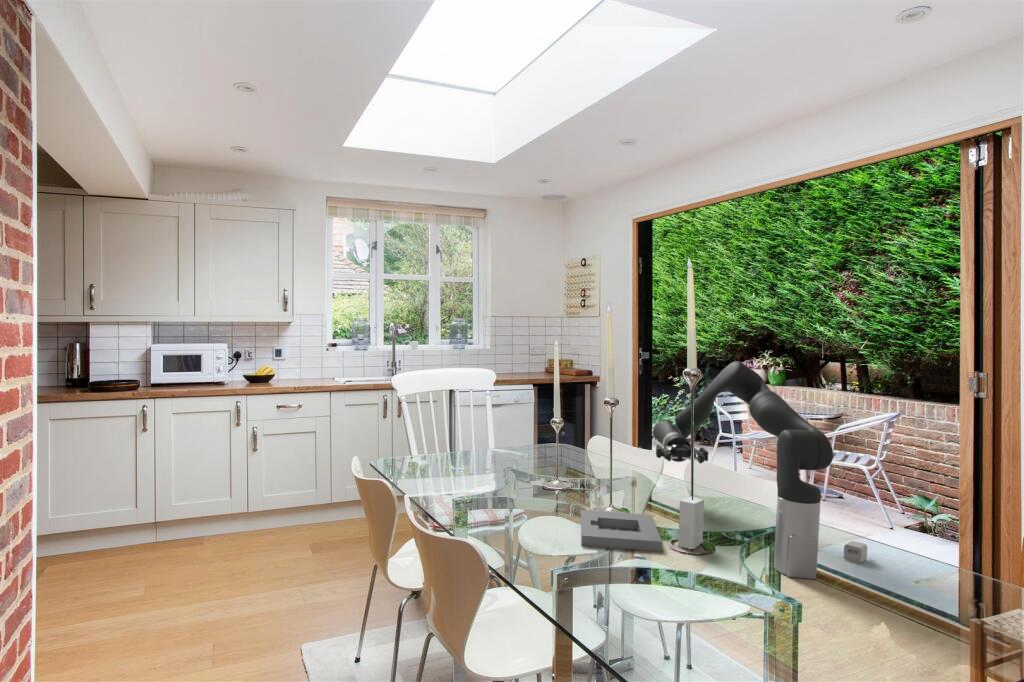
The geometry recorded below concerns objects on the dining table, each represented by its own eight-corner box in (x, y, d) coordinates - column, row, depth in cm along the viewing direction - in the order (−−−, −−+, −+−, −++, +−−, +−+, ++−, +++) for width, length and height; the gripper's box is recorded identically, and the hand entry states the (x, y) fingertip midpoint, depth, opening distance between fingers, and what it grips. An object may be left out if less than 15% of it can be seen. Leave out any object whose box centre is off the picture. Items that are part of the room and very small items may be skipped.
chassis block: (661, 551, 154) (662, 541, 154) (581, 545, 156) (581, 535, 156) (651, 523, 176) (651, 514, 176) (580, 518, 178) (581, 509, 178)
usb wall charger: (843, 559, 154) (844, 543, 154) (852, 553, 159) (853, 537, 159) (861, 564, 151) (861, 548, 151) (869, 557, 156) (870, 542, 156)
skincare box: (687, 540, 163) (689, 495, 163) (702, 544, 160) (704, 499, 160) (677, 546, 158) (679, 500, 158) (693, 550, 156) (695, 503, 155)
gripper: (653, 432, 186) (659, 443, 170) (701, 435, 185) (712, 446, 169) (651, 457, 187) (658, 470, 171) (699, 460, 185) (711, 474, 169)
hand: (685, 458), depth 170 cm, fingers open, 8 cm apart
